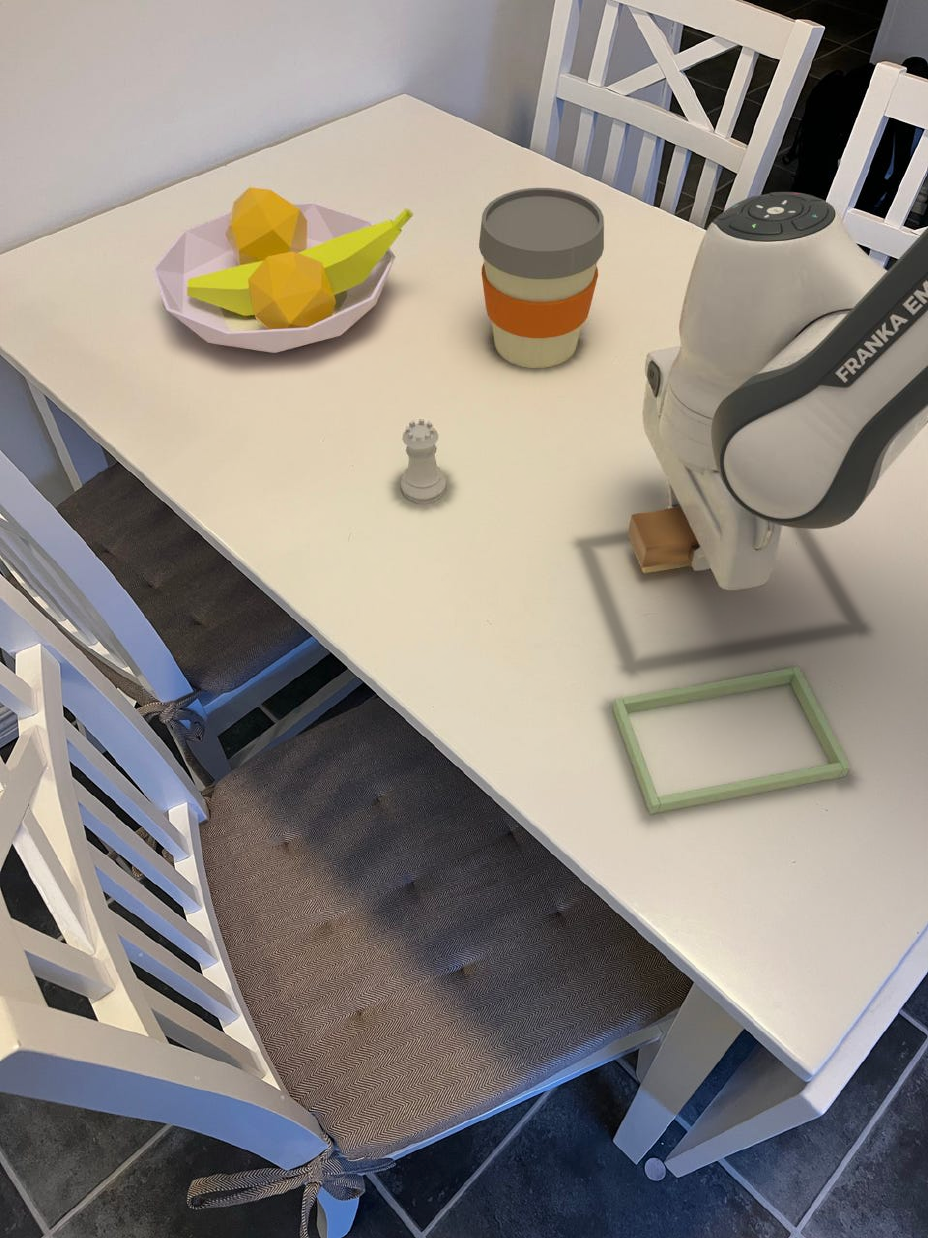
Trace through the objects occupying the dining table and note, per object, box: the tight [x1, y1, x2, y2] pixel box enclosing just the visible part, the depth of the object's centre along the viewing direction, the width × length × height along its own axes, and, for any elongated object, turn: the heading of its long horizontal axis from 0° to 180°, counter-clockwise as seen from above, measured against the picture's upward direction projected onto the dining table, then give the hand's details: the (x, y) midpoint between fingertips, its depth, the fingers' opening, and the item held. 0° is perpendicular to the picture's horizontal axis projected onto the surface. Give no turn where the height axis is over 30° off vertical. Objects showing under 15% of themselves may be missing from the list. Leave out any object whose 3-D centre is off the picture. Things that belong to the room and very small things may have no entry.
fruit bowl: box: [151, 186, 414, 354], centre depth 101 cm, size 28×27×11 cm
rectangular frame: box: [612, 666, 852, 815], centre depth 69 cm, size 15×9×2 cm, turn 101°
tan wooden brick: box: [627, 507, 699, 574], centre depth 78 cm, size 10×4×4 cm, turn 101°
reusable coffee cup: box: [478, 187, 605, 369], centre depth 95 cm, size 13×12×15 cm
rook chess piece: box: [400, 418, 447, 505], centre depth 84 cm, size 4×4×8 cm
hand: (688, 540), depth 79 cm, fingers closed on tan wooden brick, 4 cm apart
